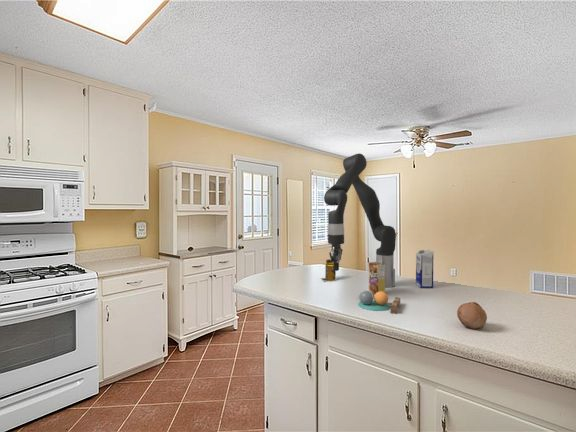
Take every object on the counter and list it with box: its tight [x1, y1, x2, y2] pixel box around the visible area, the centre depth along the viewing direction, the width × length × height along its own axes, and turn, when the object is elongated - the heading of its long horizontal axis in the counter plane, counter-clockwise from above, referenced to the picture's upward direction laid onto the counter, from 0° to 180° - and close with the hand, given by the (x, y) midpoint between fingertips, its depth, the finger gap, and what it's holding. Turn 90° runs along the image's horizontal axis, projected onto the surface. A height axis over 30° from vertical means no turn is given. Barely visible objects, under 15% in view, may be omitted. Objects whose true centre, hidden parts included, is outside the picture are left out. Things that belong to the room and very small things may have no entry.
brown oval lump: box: [456, 301, 488, 330], centre depth 116 cm, size 10×9×10 cm
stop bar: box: [390, 296, 401, 315], centre depth 138 cm, size 14×2×3 cm, turn 153°
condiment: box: [320, 258, 338, 282], centre depth 191 cm, size 7×8×12 cm
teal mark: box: [357, 300, 391, 312], centre depth 142 cm, size 14×14×1 cm
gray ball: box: [359, 290, 374, 305], centre depth 143 cm, size 6×6×6 cm
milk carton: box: [415, 249, 435, 289], centre depth 175 cm, size 7×7×20 cm
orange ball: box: [373, 291, 389, 305], centre depth 142 cm, size 6×6×6 cm
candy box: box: [368, 261, 386, 295], centre depth 161 cm, size 9×4×15 cm, turn 17°
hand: (336, 270), depth 149 cm, fingers closed
